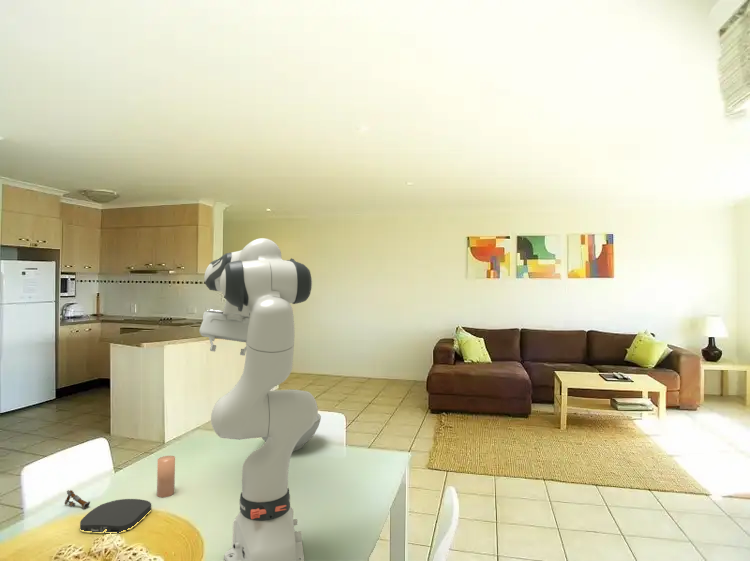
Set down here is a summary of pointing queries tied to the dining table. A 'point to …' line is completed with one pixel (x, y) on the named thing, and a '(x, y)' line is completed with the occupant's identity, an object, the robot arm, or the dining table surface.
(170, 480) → the salmon orange cylinder
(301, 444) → the decorative bowl
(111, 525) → the media streaming box
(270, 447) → the robot arm
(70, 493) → the brown grey jointed tubes
